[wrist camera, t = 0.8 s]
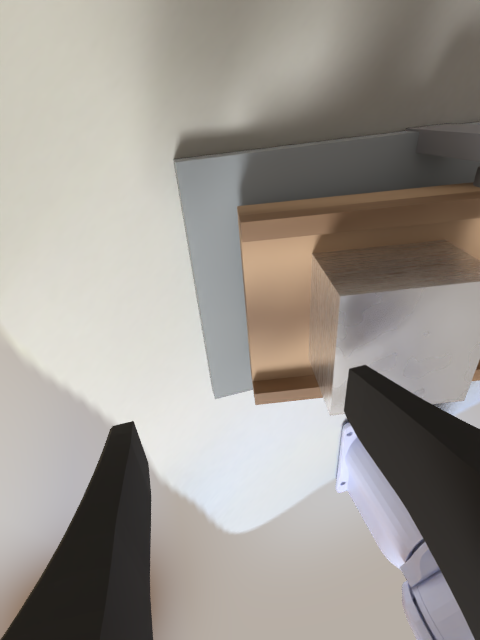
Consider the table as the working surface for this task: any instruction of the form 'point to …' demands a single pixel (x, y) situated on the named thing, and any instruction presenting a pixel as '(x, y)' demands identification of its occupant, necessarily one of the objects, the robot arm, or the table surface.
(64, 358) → the table surface
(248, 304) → the beam
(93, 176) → the table surface
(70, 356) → the table surface
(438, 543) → the robot arm
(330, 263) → the block
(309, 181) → the pivot stand
